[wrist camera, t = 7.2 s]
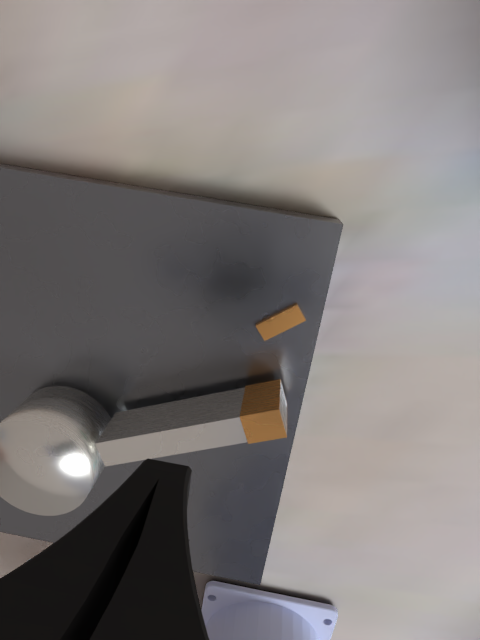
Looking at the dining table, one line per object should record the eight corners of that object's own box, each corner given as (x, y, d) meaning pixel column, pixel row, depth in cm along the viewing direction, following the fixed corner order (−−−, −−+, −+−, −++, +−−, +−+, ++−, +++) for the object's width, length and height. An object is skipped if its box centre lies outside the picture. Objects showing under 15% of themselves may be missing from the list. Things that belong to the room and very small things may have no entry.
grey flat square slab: (261, 561, 26) (258, 612, 23) (-63, 496, 27) (-106, 537, 24) (339, 219, 19) (348, 230, 16) (-109, 145, 20) (-179, 143, 17)
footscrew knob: (43, 478, 23) (10, 522, 20) (2, 396, 22) (-41, 432, 19) (296, 435, 21) (297, 479, 18) (270, 338, 19) (266, 370, 16)
